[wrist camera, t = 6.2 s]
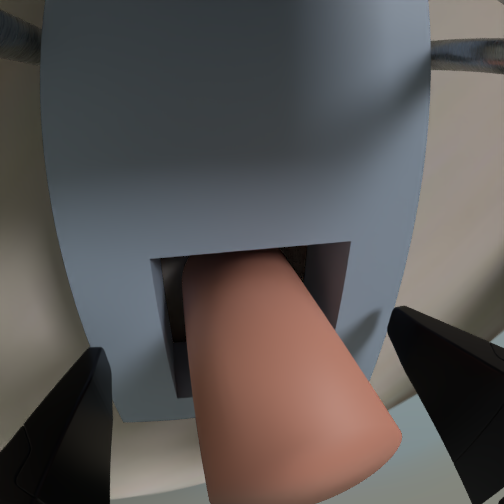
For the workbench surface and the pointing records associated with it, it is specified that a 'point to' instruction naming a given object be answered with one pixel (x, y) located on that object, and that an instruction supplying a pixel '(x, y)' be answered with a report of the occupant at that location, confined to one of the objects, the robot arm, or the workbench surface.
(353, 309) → the socket board
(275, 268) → the peg
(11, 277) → the workbench surface
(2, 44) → the awning
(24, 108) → the workbench surface
